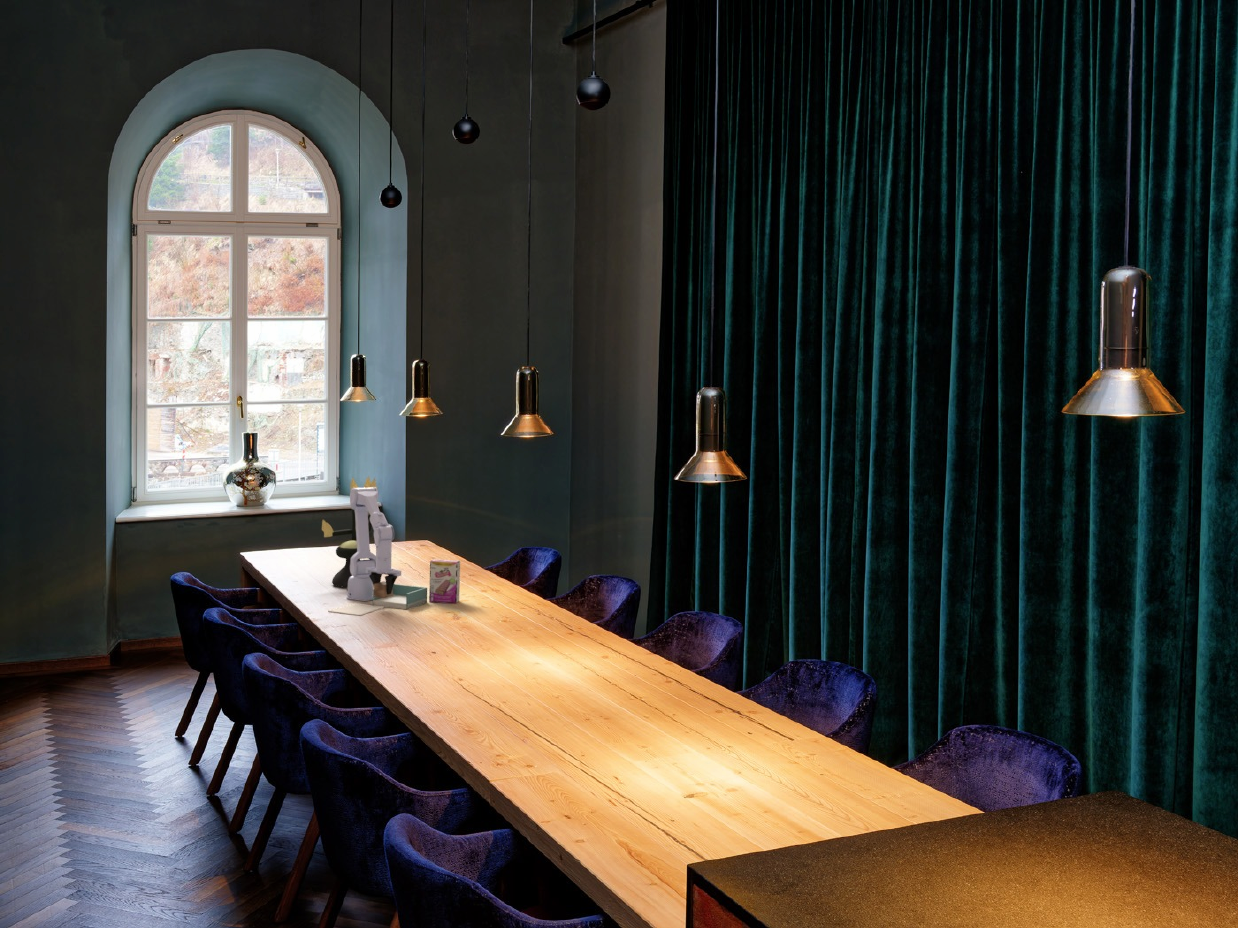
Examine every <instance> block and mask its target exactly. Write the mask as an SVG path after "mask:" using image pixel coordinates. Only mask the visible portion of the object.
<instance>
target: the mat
mask: <svg viewBox="0 0 1238 928" xmlns="http://www.w3.org/2000/svg"><path fill="white" fill-rule="evenodd" d="M384 608H385V607H384V606H376V605H373V604H366V603H365V604H363V603H357V602H352V603H349V604H346V605H343V606H338V607H337V608H333V609H329V610H328V613H334V614H335V613H336V614H343V615H351V616H356V617H357V616H359V617H361V616H363V615H366V614H370V613H372V612H376V611H379V610H382V609H384Z"/></svg>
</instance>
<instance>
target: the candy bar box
mask: <svg viewBox="0 0 1238 928" xmlns="http://www.w3.org/2000/svg"><path fill="white" fill-rule="evenodd" d="M460 577H461V560H455V559H453V560H452V559H439V558H438V559H436V558H434V559H433V558H432V559H431V560H430V561H429V590H428V591H429V594H428V599H429V600H428V601H429V603H441V604H443V603H444V604H457V603H458V602H460V586H461V585H460V583H461V578H460Z"/></svg>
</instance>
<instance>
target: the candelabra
mask: <svg viewBox="0 0 1238 928" xmlns="http://www.w3.org/2000/svg"><path fill="white" fill-rule="evenodd" d="M372 487H376V488H377V490H378V491H379V489H378V486H377V483H376V478H375V477H374V478H373V480H372V481H371V479H370V476H369V475H368V476H367V478H366V480H365V483H364V484H363V488H372ZM352 488H359V486H358V484H357V483H356V481H355V479H354V478H353V477H351V481H350V491H351V490H352ZM370 516H371V515H370V513H369V512H368V529H369V541H370V538H371V537H373V532H372V528H373V527H372V524H371V522H370ZM351 522H352V524H351V525H352V526H351V529H340V530H339V529H338V530H334V529H333V528H332V526H331V525H330V524H329V523H328V522H326V520H325V519H322V521H321V531H322V532H323V538H330V537H339V536H345V535H351V540H348V541H344V542H342V543H341V544H340V545H339V546H337V547H336V549H335V554H336V556H337V557H338V558H340V559H345V563H344V564H345V565H344V566H343V567H342V568H341V569H339V570H338V571H337V573H335V575H334V576H333V578H332V580H331V584H333V586H335V587H337V588H341V589H342V588H343V589H348V580H349V578H350V577H351V576H352V574H351V572H350V562H351V560H350V559H351V557H352V556H353V555H354V554H355V553H356V552H357V538H356V520H355V510H353V509H351ZM358 560H361V559H358Z"/></svg>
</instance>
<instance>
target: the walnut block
mask: <svg viewBox="0 0 1238 928" xmlns="http://www.w3.org/2000/svg"><path fill="white" fill-rule="evenodd" d="M373 590H374V597H377V598H387V597H390V596H393V588H392V592H391V594H387V592H386V581H382V580H381V582H379V583H376V584H374V585H373Z"/></svg>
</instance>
